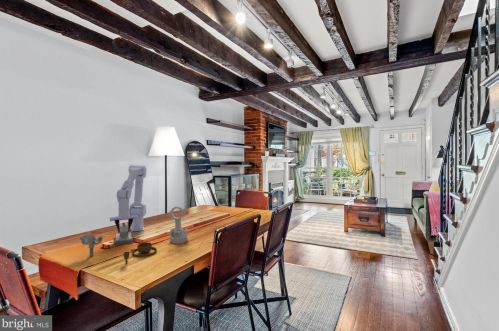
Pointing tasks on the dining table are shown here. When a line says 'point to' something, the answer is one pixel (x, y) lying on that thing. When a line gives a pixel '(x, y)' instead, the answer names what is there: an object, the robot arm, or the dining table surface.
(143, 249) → the place setting
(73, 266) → the dining table surface
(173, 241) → the engine component
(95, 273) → the dining table surface
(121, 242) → the panel
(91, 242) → the mechanical component
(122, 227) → the housing
